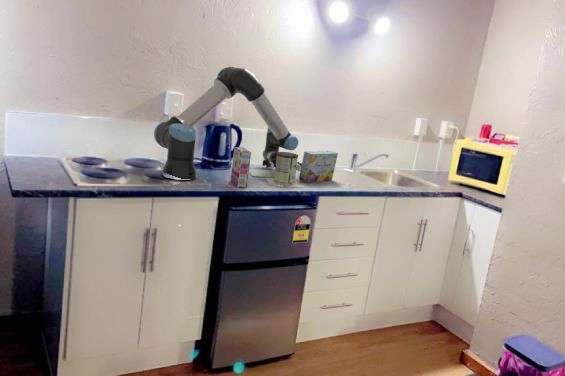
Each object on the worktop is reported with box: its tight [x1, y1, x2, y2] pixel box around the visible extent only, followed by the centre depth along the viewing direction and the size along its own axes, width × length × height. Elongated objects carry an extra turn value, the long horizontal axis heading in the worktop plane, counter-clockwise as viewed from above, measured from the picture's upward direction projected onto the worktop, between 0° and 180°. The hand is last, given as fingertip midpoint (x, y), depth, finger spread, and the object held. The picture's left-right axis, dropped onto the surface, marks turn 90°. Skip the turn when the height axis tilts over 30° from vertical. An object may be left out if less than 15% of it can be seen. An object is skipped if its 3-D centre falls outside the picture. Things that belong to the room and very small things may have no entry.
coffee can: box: [274, 151, 299, 185], centre depth 236 cm, size 10×10×14 cm
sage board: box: [248, 168, 275, 179], centre depth 252 cm, size 16×16×1 cm
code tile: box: [264, 178, 305, 189], centre depth 238 cm, size 16×16×1 cm
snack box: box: [298, 150, 339, 183], centre depth 250 cm, size 21×6×15 cm, turn 136°
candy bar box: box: [230, 146, 252, 189], centre depth 220 cm, size 11×5×16 cm, turn 22°
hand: (286, 167), depth 236 cm, fingers open, 13 cm apart
